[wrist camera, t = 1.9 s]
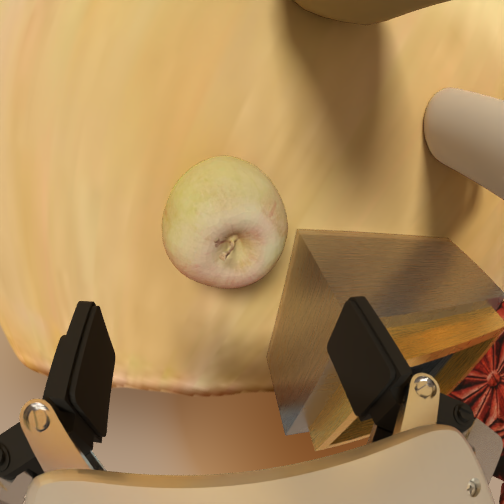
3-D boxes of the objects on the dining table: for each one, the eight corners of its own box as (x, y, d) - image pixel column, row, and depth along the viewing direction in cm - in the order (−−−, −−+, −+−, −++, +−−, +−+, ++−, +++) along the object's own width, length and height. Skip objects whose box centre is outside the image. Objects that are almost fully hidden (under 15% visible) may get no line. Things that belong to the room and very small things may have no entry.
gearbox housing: (448, 238, 25) (521, 312, 15) (394, 340, 34) (434, 412, 24) (297, 229, 22) (367, 358, 12) (266, 357, 30) (291, 458, 20)
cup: (435, 71, 16) (521, 88, 8) (491, 123, 18) (557, 154, 11) (410, 144, 19) (491, 187, 12) (469, 182, 22) (531, 225, 15)
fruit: (146, 188, 18) (116, 251, 12) (237, 127, 17) (259, 156, 11) (207, 262, 22) (212, 342, 16) (289, 214, 21) (329, 282, 15)
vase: (472, 263, 29) (592, 433, 4) (484, 300, 35) (570, 430, 10) (400, 334, 33) (490, 519, 9) (427, 355, 40) (497, 492, 15)
